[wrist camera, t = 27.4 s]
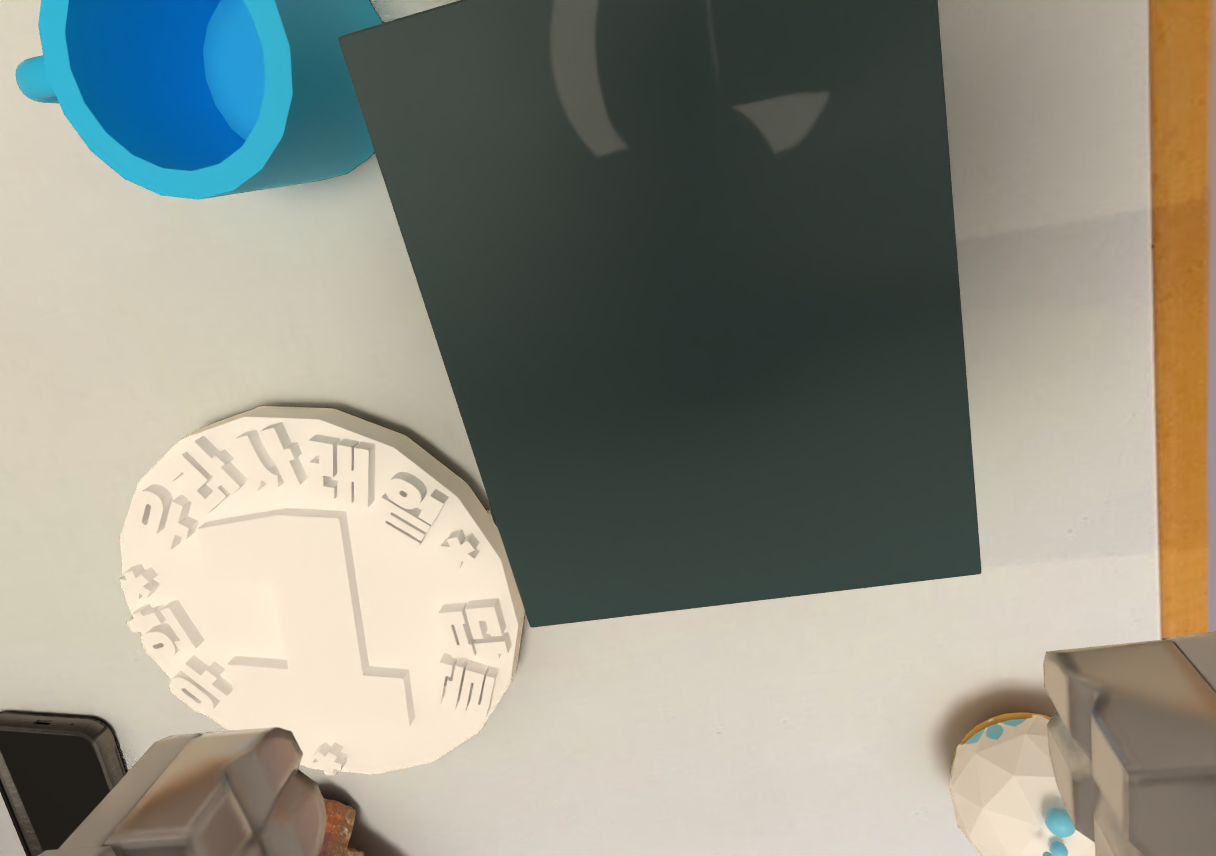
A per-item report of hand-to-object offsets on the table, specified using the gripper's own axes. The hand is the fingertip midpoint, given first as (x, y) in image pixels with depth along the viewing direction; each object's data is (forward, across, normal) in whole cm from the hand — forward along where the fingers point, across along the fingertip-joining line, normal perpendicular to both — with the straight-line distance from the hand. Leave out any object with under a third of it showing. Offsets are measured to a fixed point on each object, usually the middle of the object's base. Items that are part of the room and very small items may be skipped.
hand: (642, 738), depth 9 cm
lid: (+15, 0, -1) cm, 15 cm away
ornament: (+26, -10, +25) cm, 37 cm away
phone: (+26, +43, +25) cm, 56 cm away
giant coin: (+26, +21, +12) cm, 35 cm away
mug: (+26, +16, -11) cm, 33 cm away
